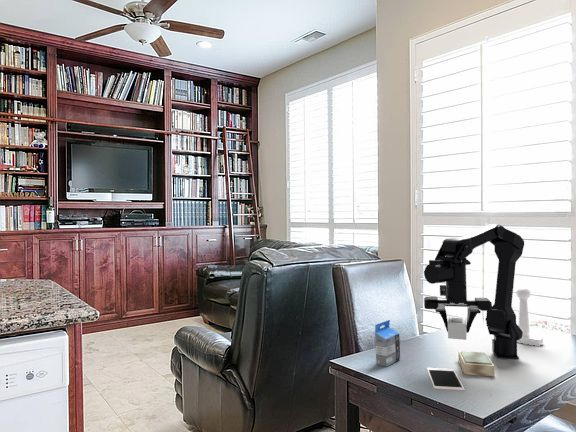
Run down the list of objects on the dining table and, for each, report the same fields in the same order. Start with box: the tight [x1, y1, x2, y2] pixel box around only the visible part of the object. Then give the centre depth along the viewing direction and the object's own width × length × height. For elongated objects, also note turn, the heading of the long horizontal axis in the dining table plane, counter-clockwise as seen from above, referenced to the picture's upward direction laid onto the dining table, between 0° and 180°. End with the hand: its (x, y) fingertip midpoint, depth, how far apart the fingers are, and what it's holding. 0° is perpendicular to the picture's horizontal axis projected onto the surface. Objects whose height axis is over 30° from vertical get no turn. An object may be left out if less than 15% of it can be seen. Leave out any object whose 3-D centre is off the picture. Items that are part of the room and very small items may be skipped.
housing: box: [447, 316, 468, 340], centre depth 129 cm, size 5×8×5 cm, turn 157°
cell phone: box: [426, 367, 466, 392], centre depth 120 cm, size 8×16×1 cm, turn 169°
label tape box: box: [374, 319, 401, 367], centre depth 134 cm, size 9×4×12 cm, turn 137°
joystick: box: [515, 286, 544, 347], centre depth 155 cm, size 11×8×20 cm
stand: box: [458, 350, 496, 377], centre depth 128 cm, size 8×12×3 cm, turn 166°
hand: (457, 331), depth 129 cm, fingers closed on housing, 5 cm apart
